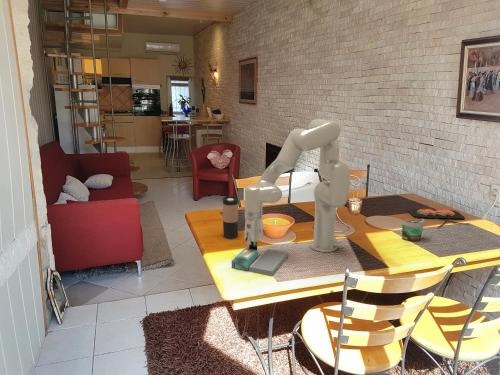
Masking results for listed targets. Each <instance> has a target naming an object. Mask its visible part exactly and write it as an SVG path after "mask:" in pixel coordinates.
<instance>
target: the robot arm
mask: <svg viewBox="0 0 500 375" xmlns="http://www.w3.org/2000/svg"><path fill="white" fill-rule="evenodd" d="M308 126H309V128H308V129H304V128H295V129H292V130H291V131H290V133H289V134H288V136H287V138H286V140H285V142H284V143H283V146H282V147H281V150H280V151H279V153H278V155H277V157H276V158H275V160H274V161H272V162H271V164H270V165H269V166H268V167H267V168H265V170H264V171H263V173H262V175H261V177H260V179H259V180H258V183H257V184H249V185H247V186H246V187H245V188H244V219H245V222H244V241H246V245H248V246H249V249H253V250H258V244H259V242H258V241H259V240H260V239H261V238H263V235H264V222H263V203H266V204H275V203H278V202H280V201H281V199H282V197H283V191H282V189H281V188H280V187H278V186H277V185H276V182H277V180H278V179H279V178H280V176H281V175H283V174H285V173H287V172H288V171H291V170H293V169H294V168H296V166H297V164H298V162H299V159H300V158H301V156H302V153H303V152H304V151H305V152H311V151H314V150H317V149H319V162H318V164H319V165H318V174H319V175H320V176H319V177H322V178H323V179H324V181H322V180H321V181H320V182H318V183H317V184H316V185H315V186H314V191H313V196H314V198H313V199H314V227H313V240H312V241H311V242H310V244H309V247H310V248H311V249H312V250H314V251H316V252H320V253H332V252H334V251H336V250H338V248H344V243H343V242H342V241H339V240H337V238H336V237H335V233H336V220H337V209H340V208H343V207H344V206H345V205H346V203H347V202H348V199H349V195H350V193H349V192H350V183H351V182H350V181H351V169H350V167H349V165H348V164H347V163H346V162H344V161H342V160H340V148H341V146H340V141H339V139H338V138H339V137H340V135H341V130H342V129H341V127H340V124H339V123H338V122H337V121H334V120H328V119H323V118H316V119H313V120H311V122H310V123H309V125H308ZM326 180H327V181H326Z"/></svg>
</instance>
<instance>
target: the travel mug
mask: <svg viewBox="0 0 500 375" xmlns="http://www.w3.org/2000/svg"><path fill="white" fill-rule="evenodd" d="M222 231H223V237H224V239H227V240H233V239H237V238H238V236H239V235H238V234H239V198H238V197H236V196H229V195H228V196H225V197H223V198H222Z"/></svg>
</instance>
